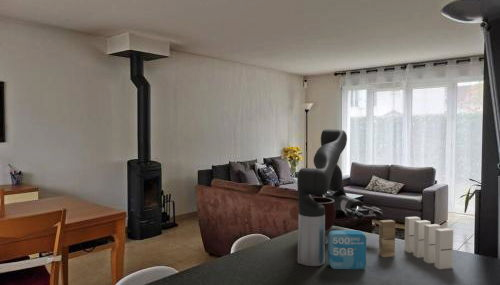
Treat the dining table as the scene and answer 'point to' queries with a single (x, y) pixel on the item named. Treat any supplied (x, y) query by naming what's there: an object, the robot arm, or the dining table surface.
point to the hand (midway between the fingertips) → (372, 216)
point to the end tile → (443, 248)
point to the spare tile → (386, 238)
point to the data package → (346, 249)
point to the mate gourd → (327, 212)
